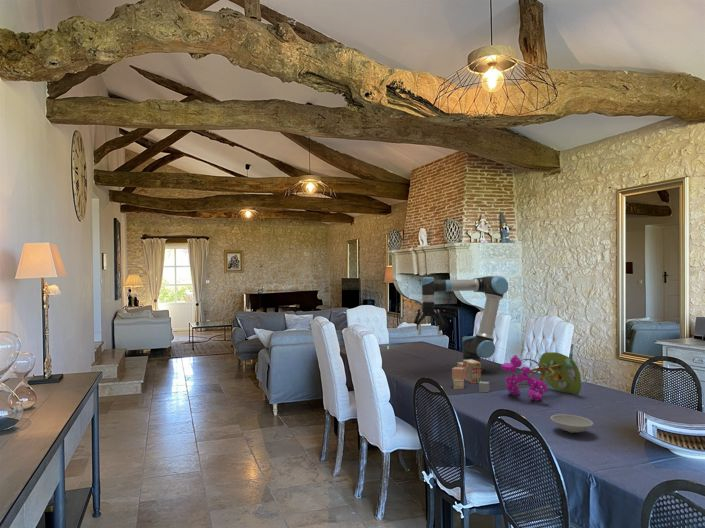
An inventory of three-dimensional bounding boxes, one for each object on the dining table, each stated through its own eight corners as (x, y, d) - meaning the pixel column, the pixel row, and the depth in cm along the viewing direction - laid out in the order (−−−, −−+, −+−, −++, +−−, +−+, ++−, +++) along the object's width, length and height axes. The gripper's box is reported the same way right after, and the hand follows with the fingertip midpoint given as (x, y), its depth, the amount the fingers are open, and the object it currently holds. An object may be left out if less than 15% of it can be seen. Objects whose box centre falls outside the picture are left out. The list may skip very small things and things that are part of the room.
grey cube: (480, 390, 280) (480, 381, 280) (489, 390, 278) (489, 381, 278) (479, 392, 275) (479, 383, 276) (488, 392, 274) (488, 383, 274)
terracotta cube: (455, 377, 293) (455, 367, 293) (465, 378, 290) (465, 367, 290) (452, 379, 288) (451, 368, 288) (462, 380, 285) (462, 369, 285)
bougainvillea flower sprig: (574, 338, 261) (523, 353, 246) (593, 393, 255) (543, 412, 240) (534, 346, 287) (486, 361, 272) (551, 396, 281) (503, 414, 266)
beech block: (454, 385, 294) (454, 377, 294) (464, 386, 292) (463, 377, 292) (453, 389, 285) (453, 380, 285) (463, 389, 284) (463, 380, 284)
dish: (542, 428, 208) (541, 416, 209) (571, 424, 213) (570, 412, 213) (572, 441, 192) (571, 428, 192) (603, 437, 196) (602, 424, 196)
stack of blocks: (456, 377, 319) (456, 357, 319) (466, 376, 320) (465, 357, 320) (471, 383, 298) (471, 362, 298) (481, 383, 299) (481, 362, 299)
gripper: (408, 301, 321) (408, 335, 321) (444, 302, 307) (444, 337, 306) (413, 301, 328) (414, 333, 327) (449, 301, 313) (450, 335, 312)
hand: (429, 335), depth 317 cm, fingers open, 13 cm apart
